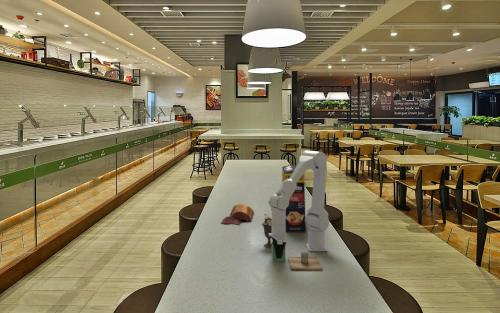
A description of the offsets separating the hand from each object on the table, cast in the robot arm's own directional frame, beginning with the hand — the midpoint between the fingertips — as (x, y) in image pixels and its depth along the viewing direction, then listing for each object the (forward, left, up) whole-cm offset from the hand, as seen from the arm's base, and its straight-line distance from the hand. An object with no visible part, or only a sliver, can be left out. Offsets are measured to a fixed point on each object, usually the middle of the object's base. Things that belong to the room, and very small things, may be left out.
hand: (278, 255), depth 154 cm
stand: (+6, +10, -1) cm, 12 cm away
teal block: (0, 0, -1) cm, 1 cm away
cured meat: (-62, -18, -2) cm, 65 cm away
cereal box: (-49, +12, -2) cm, 50 cm away
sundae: (-16, -3, -2) cm, 16 cm away
